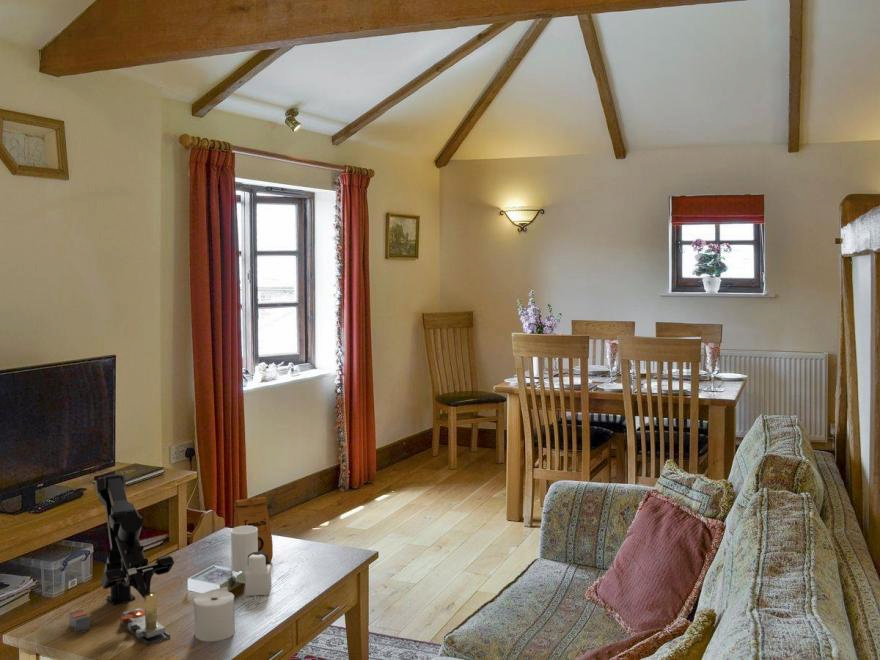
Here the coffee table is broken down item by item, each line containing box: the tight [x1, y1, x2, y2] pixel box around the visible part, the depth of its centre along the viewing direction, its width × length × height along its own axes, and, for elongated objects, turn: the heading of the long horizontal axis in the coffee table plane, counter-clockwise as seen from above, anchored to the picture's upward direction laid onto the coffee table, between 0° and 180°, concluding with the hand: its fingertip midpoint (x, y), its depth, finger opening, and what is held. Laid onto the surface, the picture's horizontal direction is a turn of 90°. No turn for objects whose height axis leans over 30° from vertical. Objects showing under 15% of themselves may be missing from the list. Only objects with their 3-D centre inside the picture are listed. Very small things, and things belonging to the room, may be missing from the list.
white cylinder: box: [230, 526, 258, 580], centre depth 269 cm, size 8×8×16 cm
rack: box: [119, 591, 166, 639], centre depth 232 cm, size 17×7×10 cm, turn 41°
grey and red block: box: [68, 609, 91, 635], centre depth 234 cm, size 6×4×4 cm, turn 40°
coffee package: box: [233, 496, 274, 563], centre depth 283 cm, size 10×12×22 cm
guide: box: [120, 622, 171, 646], centre depth 233 cm, size 18×7×1 cm, turn 41°
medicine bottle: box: [244, 551, 272, 597], centre depth 259 cm, size 7×7×12 cm
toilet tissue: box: [193, 586, 236, 643], centre depth 231 cm, size 11×12×10 cm
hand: (147, 599), depth 230 cm, fingers closed
